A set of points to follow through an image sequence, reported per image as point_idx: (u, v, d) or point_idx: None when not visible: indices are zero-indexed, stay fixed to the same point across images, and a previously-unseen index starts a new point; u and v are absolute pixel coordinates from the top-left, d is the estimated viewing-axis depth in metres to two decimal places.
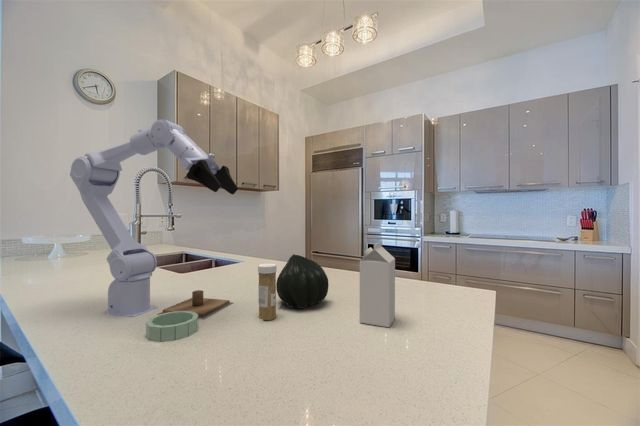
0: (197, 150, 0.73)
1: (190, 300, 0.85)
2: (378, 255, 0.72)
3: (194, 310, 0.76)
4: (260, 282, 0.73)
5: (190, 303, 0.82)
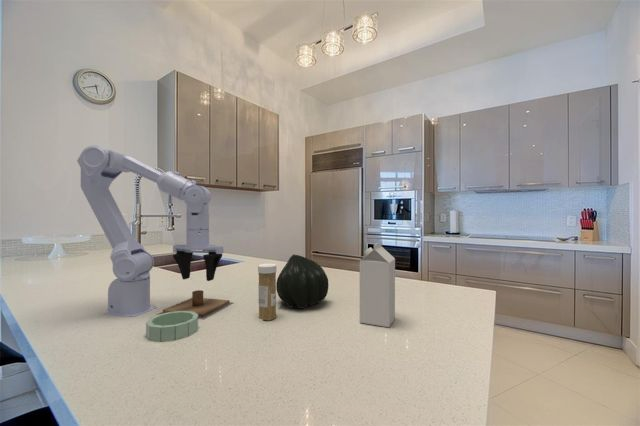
0: None
1: (190, 300, 0.85)
2: (378, 255, 0.72)
3: (194, 310, 0.76)
4: (260, 282, 0.73)
5: (190, 303, 0.82)
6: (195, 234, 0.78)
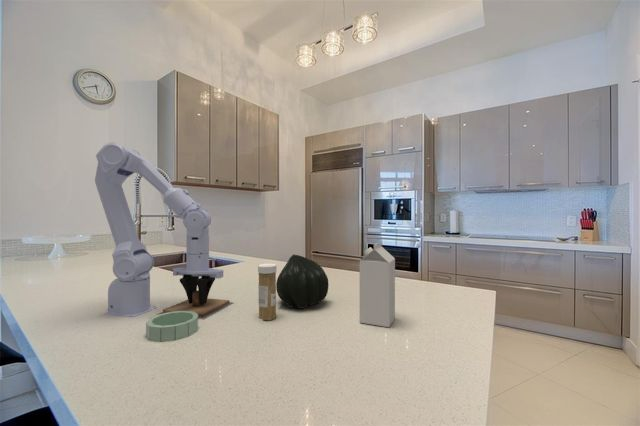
0: None
1: None
2: (378, 255, 0.72)
3: (194, 310, 0.76)
4: (260, 282, 0.73)
5: None
6: (195, 258, 0.78)
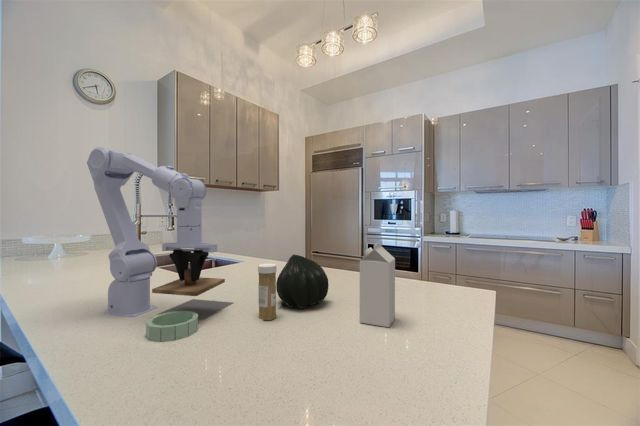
0: None
1: None
2: (378, 255, 0.72)
3: (186, 289, 0.71)
4: (260, 282, 0.73)
5: (182, 282, 0.76)
6: (186, 231, 0.72)
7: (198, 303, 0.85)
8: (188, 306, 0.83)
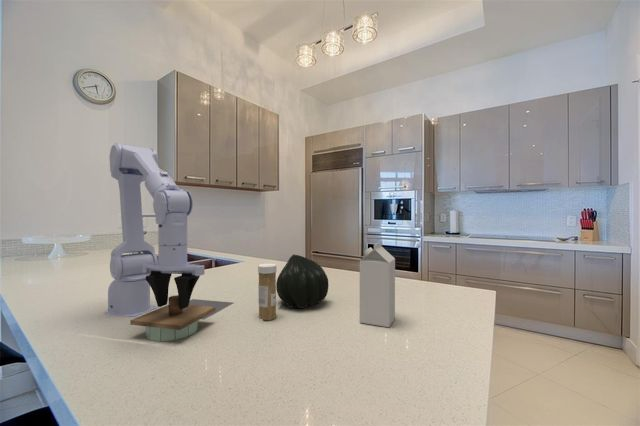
0: None
1: (167, 307, 0.70)
2: (378, 255, 0.72)
3: (170, 320, 0.61)
4: (260, 282, 0.73)
5: (166, 311, 0.67)
6: (169, 251, 0.63)
7: (198, 303, 0.85)
8: None
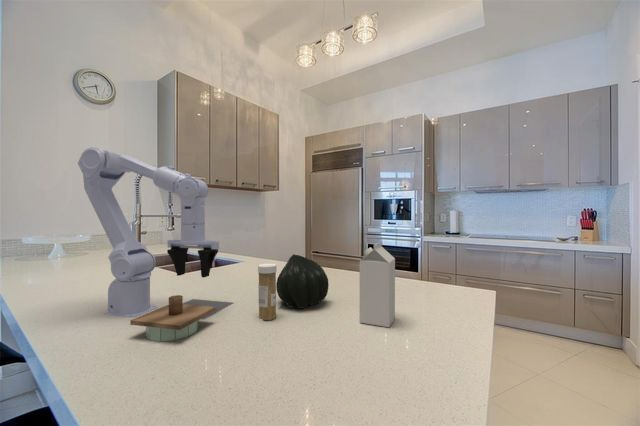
0: None
1: (167, 307, 0.70)
2: (378, 255, 0.72)
3: (170, 320, 0.61)
4: (260, 282, 0.73)
5: (166, 311, 0.67)
6: (190, 228, 0.75)
7: (198, 303, 0.85)
8: None
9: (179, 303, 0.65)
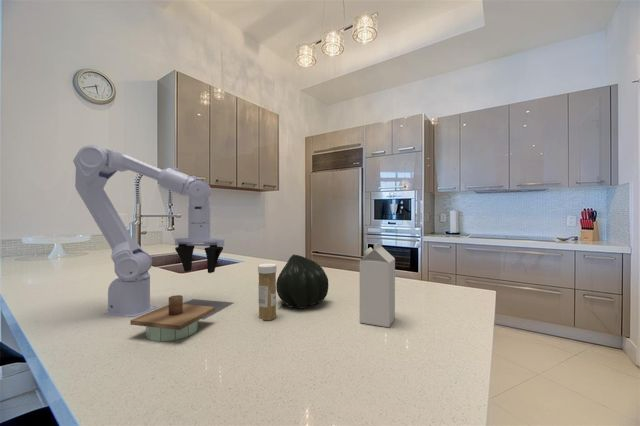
0: None
1: (167, 307, 0.70)
2: (378, 255, 0.72)
3: (170, 320, 0.61)
4: (260, 282, 0.73)
5: (166, 311, 0.67)
6: (197, 227, 0.81)
7: (198, 303, 0.85)
8: None
9: (179, 303, 0.65)
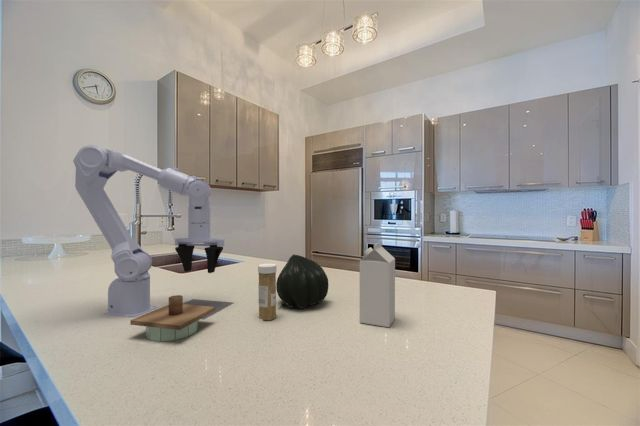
0: None
1: (167, 307, 0.70)
2: (378, 255, 0.72)
3: (170, 320, 0.61)
4: (260, 282, 0.73)
5: (166, 311, 0.67)
6: (197, 227, 0.81)
7: (198, 303, 0.85)
8: None
9: (179, 303, 0.65)
